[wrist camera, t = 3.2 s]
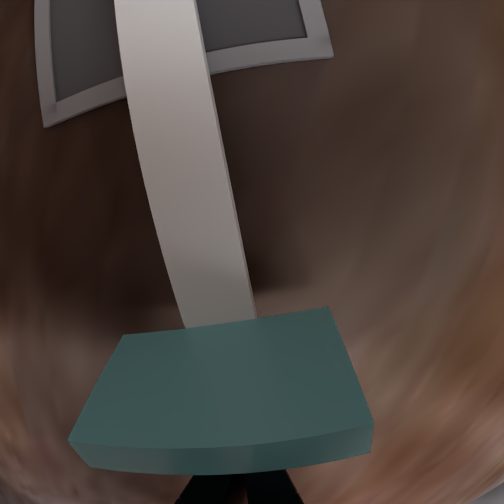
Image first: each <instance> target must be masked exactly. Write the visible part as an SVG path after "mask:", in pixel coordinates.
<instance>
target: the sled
mask: <svg viewBox="0 0 504 504" xmlns="http://www.w3.org/2000/svg"><path fill="white" fill-rule="evenodd" d="M114 4H115V14H116V23H117V32H118V40H119V48H120V55H121V62H122V69H123V76H124V82H125V88H126V94H127V100H128V106H129V111H130V117H131V122H132V127H133V133H134V138H135V142H136V147H137V152H138V157H139V161H140V166H141V171H142V175H143V179H144V184H145V188H146V192H147V196H148V201H149V205H150V209H151V213H152V217H153V221H154V224H155V228H156V232H157V236H158V240H159V243H160V247H161V251H162V254H163V258H164V261H165V265H166V268H167V272H168V275H169V278H170V282H171V285H172V288H173V292H174V295H175V298H176V302H177V305H178V308H179V311H180V314H181V317H182V320H183V323H184V327H185V328H184V329H176V330H167V331H158V332H148V333H138V334H128V335H123V336H122V338H121V340H120V341H119V343H118V345H117V347H116V348H115V350H114V352H113V354H112V356H111V357H110V359H109V361H108V363H107V365H106V366H105V368H104V370H103V372H102V374H101V376H100V377H99V379H98V381H97V383H96V385H95V387H94V389H93V391H92V392H91V394H90V396H89V398H88V400H87V402H86V404H85V406H84V408H83V410H82V412H81V414H80V416H79V418H78V420H77V422H76V424H75V426H74V428H73V430H72V432H71V434H70V436H69V438H68V440H67V441H68V442H69V444H70V445H71V446H72V447H73V448H74V450H75V451H76V452H77V453H78V454H79V456H80V457H81V458H82V459H83V460H84V461H85V463H86V464H87V465H88V466H89V467H92V468H99V469H106V470H114V471H123V472H133V473H146V474H164V475H223V474H241V473H254V472H265V471H274V470H282V469H290V468H297V467H303V466H309V465H315V464H321V463H326V462H331V461H336V460H341V459H346V458H350V457H354V456H358V455H363V454H367V453H370V450H371V443H372V436H373V429H374V421H373V418H372V415H371V413H370V410H369V407H368V405H367V402H366V399H365V397H364V394H363V392H362V389H361V386H360V384H359V381H358V379H357V376H356V373H355V371H354V368H353V366H352V363H351V361H350V358H349V356H348V353H347V351H346V348H345V346H344V343H343V341H342V338H341V336H340V333H339V331H338V329H337V326H336V324H335V321H334V319H333V316H332V314H331V312H330V309H329V307H328V306H326V307H321V308H316V309H310V310H305V311H299V312H293V313H287V314H281V315H275V316H269V317H263V318H258V317H257V312H256V307H255V302H254V297H253V292H252V288H251V283H250V278H249V273H248V268H247V263H246V258H245V253H244V248H243V243H242V238H241V233H240V228H239V223H238V218H237V212H236V207H235V202H234V197H233V192H232V187H231V182H230V177H229V172H228V167H227V162H226V156H225V151H224V146H223V141H222V136H221V131H220V125H219V120H218V115H217V110H216V105H215V99H214V94H213V89H212V84H211V78H210V73H209V68H208V63H207V57H206V52H205V47H204V41H203V36H202V31H201V25H200V20H199V14H198V9H197V4H196V0H114Z"/></svg>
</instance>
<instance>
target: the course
mask: <svg viewBox="0 0 504 504" xmlns="http://www.w3.org/2000/svg"><path fill="white" fill-rule="evenodd" d="M196 4H197V9H198V14H199V20H200V25H201V31H202V36H203V41H204V47H205V52H206V57H207V63H208V68H209V73H210V75H213V74H217V73H222V72H227V71H233V70H238V69H244V68H250V67H256V66H263V65H270V64H277V63H285V62H294V61H304V60H315V59H328V58H332V57H333V56H334V54H333V49H332V45H331V41H330V36H329V32H328V28H327V24H326V20H325V16H324V13H323V9H322V5H321V1H320V0H196ZM34 28H35V54H36V68H37V80H38V89H39V98H40V106H41V113H42V120H43V126H44V128H49V127H51V126H53V125H56V124H58V123H60V122H63V121H65V120H67V119H70V118H72V117H75V116H77V115H80V114H82V113H85V112H87V111H90V110H93V109H95V108H98V107H101V106H103V105H106V104H109V103H112V102H115V101H118V100H121V99H124V98H127V94H126V88H125V82H124V76H123V69H122V62H121V55H120V48H119V40H118V32H117V23H116V14H115V4H114V0H35V6H34Z"/></svg>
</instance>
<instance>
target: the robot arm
mask: <svg viewBox="0 0 504 504" xmlns="http://www.w3.org/2000/svg"><path fill="white" fill-rule="evenodd" d="M174 504H304V503H303V501H302V499H301V497H300V495H299V493H297V490H296V488H295V486H294V484H293V482H292V481H291V479H290V477H289V475H288V473H287V471H286V469H282V470H274V471H265V472H254V473H241V474H223V475H193V477H192V478H191V480H190V481H189V483H188V484H187V486H186V487H185V489H184V490H183V492H182V493H181V495H180V496H179V498H178V499H177V500H176V502H175V503H174Z"/></svg>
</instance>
